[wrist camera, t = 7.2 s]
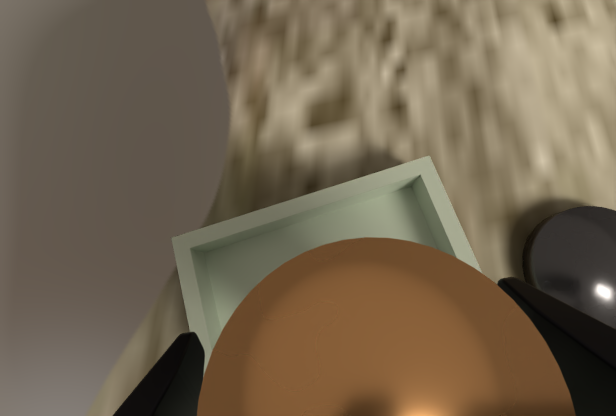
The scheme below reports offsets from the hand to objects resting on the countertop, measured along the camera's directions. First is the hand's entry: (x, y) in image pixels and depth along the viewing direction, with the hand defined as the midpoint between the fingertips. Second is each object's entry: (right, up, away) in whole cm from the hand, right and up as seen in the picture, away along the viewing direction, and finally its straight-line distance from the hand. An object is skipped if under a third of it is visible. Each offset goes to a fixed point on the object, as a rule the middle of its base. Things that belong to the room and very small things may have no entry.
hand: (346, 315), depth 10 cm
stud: (+13, 0, +7) cm, 15 cm away
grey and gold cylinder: (+1, -3, +7) cm, 8 cm away
